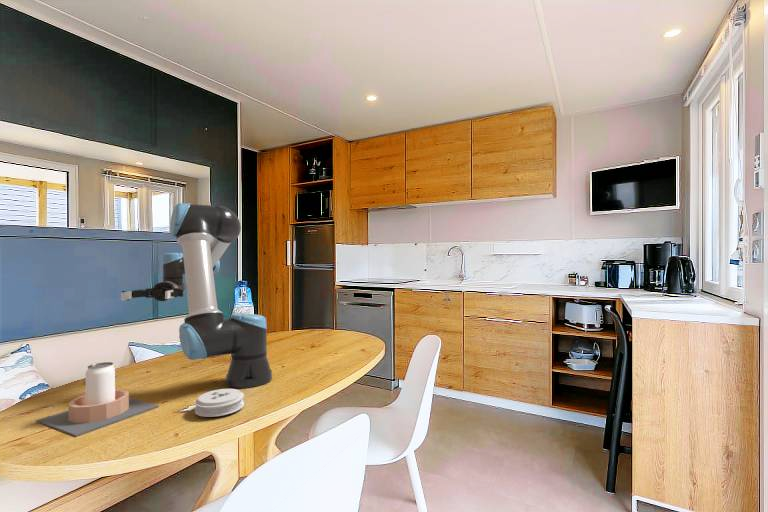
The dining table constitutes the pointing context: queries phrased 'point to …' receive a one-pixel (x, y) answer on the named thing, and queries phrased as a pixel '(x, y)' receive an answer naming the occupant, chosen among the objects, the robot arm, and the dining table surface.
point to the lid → (219, 402)
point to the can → (100, 383)
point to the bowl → (97, 408)
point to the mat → (77, 429)
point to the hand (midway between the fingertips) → (144, 295)
